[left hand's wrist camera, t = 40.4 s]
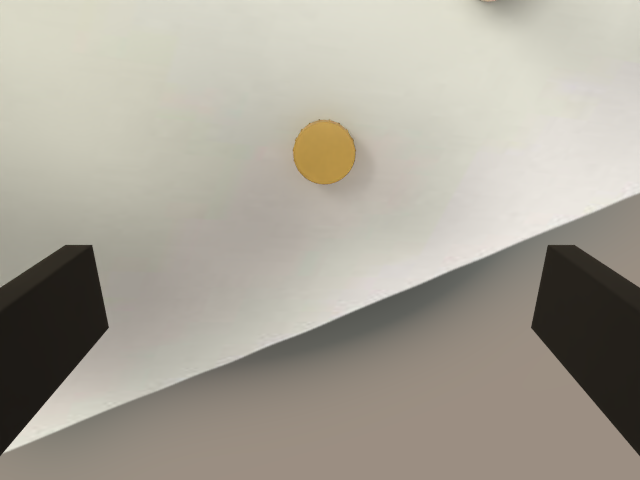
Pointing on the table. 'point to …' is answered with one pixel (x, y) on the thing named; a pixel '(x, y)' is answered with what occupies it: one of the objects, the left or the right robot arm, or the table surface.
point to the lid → (324, 152)
